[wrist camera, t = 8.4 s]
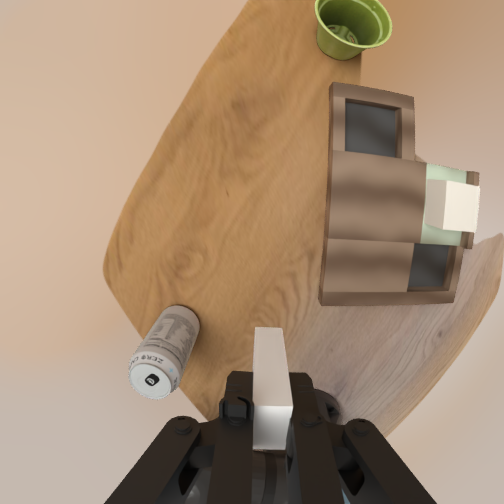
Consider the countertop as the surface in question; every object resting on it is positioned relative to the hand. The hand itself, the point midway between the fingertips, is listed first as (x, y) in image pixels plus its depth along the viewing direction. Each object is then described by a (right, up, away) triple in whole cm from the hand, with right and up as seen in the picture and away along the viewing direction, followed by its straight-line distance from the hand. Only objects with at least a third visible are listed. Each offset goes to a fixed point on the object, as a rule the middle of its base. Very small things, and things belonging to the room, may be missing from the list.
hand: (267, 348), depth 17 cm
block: (+25, +12, +19) cm, 34 cm away
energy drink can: (-11, -5, +27) cm, 29 cm away
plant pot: (+11, +34, +17) cm, 40 cm away
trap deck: (+19, +13, +21) cm, 31 cm away
